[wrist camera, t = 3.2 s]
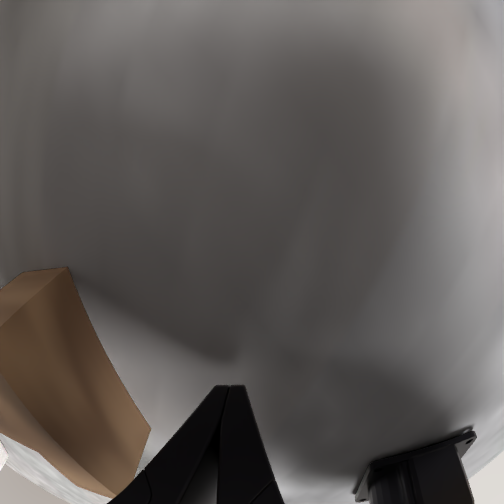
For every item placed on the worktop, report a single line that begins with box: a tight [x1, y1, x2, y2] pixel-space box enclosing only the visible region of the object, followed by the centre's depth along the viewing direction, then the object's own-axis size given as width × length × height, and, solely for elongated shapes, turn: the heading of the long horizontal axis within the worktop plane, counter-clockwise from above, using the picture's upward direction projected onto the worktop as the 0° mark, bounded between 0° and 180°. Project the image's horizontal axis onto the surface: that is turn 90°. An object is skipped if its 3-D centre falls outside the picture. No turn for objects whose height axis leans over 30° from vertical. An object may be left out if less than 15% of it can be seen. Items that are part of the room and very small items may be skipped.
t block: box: [0, 267, 151, 499], centre depth 8 cm, size 8×8×4 cm
